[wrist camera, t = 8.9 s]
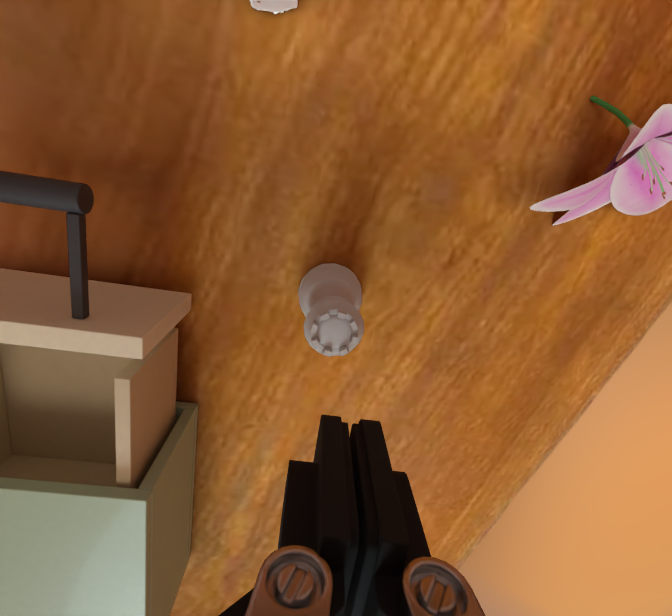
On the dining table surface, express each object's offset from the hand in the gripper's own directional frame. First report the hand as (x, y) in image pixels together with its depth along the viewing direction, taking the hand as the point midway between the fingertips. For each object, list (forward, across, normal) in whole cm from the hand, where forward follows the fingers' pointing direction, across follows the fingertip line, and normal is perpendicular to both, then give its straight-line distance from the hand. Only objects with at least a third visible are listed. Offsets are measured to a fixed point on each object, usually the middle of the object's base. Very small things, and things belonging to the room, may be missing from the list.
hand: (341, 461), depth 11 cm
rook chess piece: (+18, 0, 0) cm, 18 cm away
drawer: (+16, +16, +5) cm, 24 cm away
